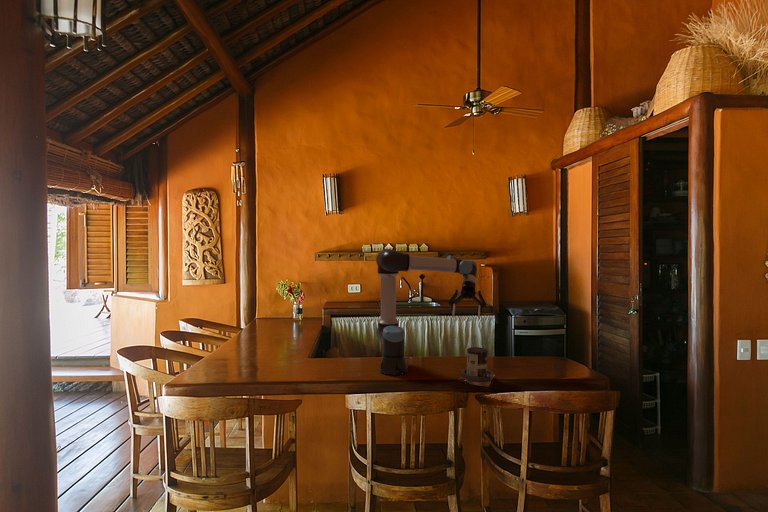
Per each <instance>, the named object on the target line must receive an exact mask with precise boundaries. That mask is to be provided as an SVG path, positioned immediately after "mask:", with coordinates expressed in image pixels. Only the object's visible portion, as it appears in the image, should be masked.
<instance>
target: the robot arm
mask: <svg viewBox="0 0 768 512" xmlns="http://www.w3.org/2000/svg"><path fill="white" fill-rule="evenodd" d="M375 262H376V265H377V274H378V275H379V277H380V318H379V320H378V321H377V329H376V338H377V340H378V342H379V343H381V345H382V358H381V362H380V365H379V373H380V374H382V373H385V374H402V373H405V374H407V373H408V372H407V371H409V366H408V363H407V361H406V357H405V351H406V350H405V346H406V345H405V344H406V343H405V342H406V340H405V337H406V333H405V329H404V328H403V327H401V326H400V325H399V324H400V323H399V320H398V319H397V310H396V309H397V278H396V277H397V276H398V275H399V273H400V272H409V271H422V272H423V271H424V272H438V273H441V272H442V273H454V274H460V275H462V281H461V282H462V284H461V290H458V289H455V292H454V294H453V295H452V296H451V298H450V299H449V300H448V305H449V306H451V308H450V310H451V312H452V317H453V318H454V317H455V310H456V305H457V304H458V303H460V302H461V300H464V299H465V300H471V299H472V300H473V301H474V302H475V303H476V304H477V305H478V313H477V314H478V315H477V317H478V319H480V318H481V313H483V308H486V307H487V303H486V301H485V299H484V297H483V295H482V292H481V290H478V291H476V285H477V284H476V283H477V273H478V264H477V262H476V261H475V260H470V259H462V258H458V257H456V256H454V255H448V256H446V258H444V257H434V256H432V257H431V256H420V255H410V253H406V252H401V251H400V252H399V251H397V250H394V249H391V248H384V249H382V250H380V251H379V252H378V253H377V255H376V259H375ZM476 296H478V298H477V297H476ZM406 372H407V373H406ZM385 374H384V375H385ZM402 375H403V374H402Z"/></svg>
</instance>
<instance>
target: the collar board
mask: <svg viewBox="0 0 768 512" xmlns="http://www.w3.org/2000/svg"><path fill="white" fill-rule="evenodd" d="M494 376H495V377H496V374H494V372H493V371H491V370H489V369H488V368H487V376H482V377H477V376H470V375H467V367H466V368H463V369H462V371H461V372H460V377H459V379H460V378H464V379H465V380H464V381H467V382H468V383H469V384H468V385H472V386H473V385H474V386H481V387H486V388H487V387H488V388H489V387H490V385H492V383H491V380H492V378H493V377H494Z"/></svg>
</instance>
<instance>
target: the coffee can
mask: <svg viewBox="0 0 768 512" xmlns="http://www.w3.org/2000/svg"><path fill="white" fill-rule="evenodd" d="M466 351H467V353H466V355H467V356H466V368H467V375H470V376H477V377H482V376H487V369H488V352H489V350H488V349H487V348H484V347H479V346H477V347H475V346H474V347H468V348H467V349H466Z"/></svg>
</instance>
